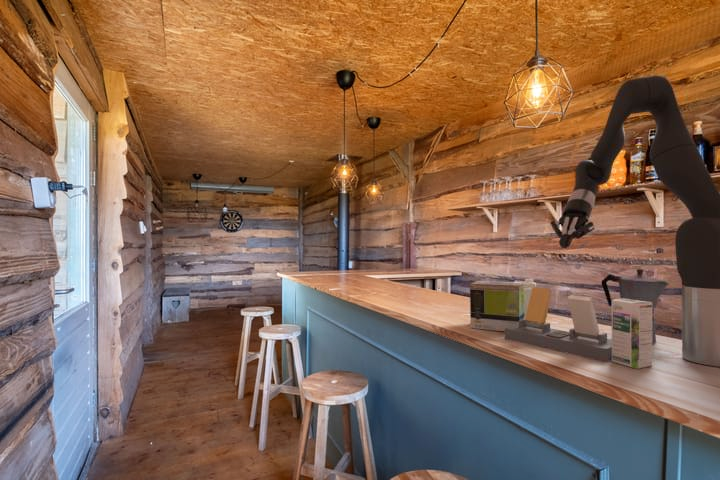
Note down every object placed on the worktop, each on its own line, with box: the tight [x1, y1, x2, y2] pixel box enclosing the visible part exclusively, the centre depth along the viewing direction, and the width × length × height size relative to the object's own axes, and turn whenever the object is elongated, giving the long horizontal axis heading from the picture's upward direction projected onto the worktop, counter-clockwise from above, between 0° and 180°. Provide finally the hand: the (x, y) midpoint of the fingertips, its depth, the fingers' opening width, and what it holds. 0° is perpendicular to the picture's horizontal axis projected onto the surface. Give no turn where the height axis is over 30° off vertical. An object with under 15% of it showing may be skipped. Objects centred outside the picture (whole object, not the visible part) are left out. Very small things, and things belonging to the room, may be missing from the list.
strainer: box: [518, 278, 537, 322], centre depth 127 cm, size 7×7×15 cm
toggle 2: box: [567, 294, 600, 340], centre depth 93 cm, size 5×2×12 cm, turn 36°
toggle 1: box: [524, 287, 553, 329], centre depth 107 cm, size 5×2×12 cm, turn 36°
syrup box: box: [611, 298, 653, 370], centre depth 85 cm, size 6×6×14 cm
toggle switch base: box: [504, 319, 612, 363], centre depth 100 cm, size 26×10×5 cm, turn 36°
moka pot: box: [601, 268, 670, 345], centre depth 105 cm, size 10×15×20 cm, turn 53°
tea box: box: [469, 280, 525, 332], centre depth 121 cm, size 15×10×15 cm, turn 58°
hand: (563, 246), depth 115 cm, fingers closed
